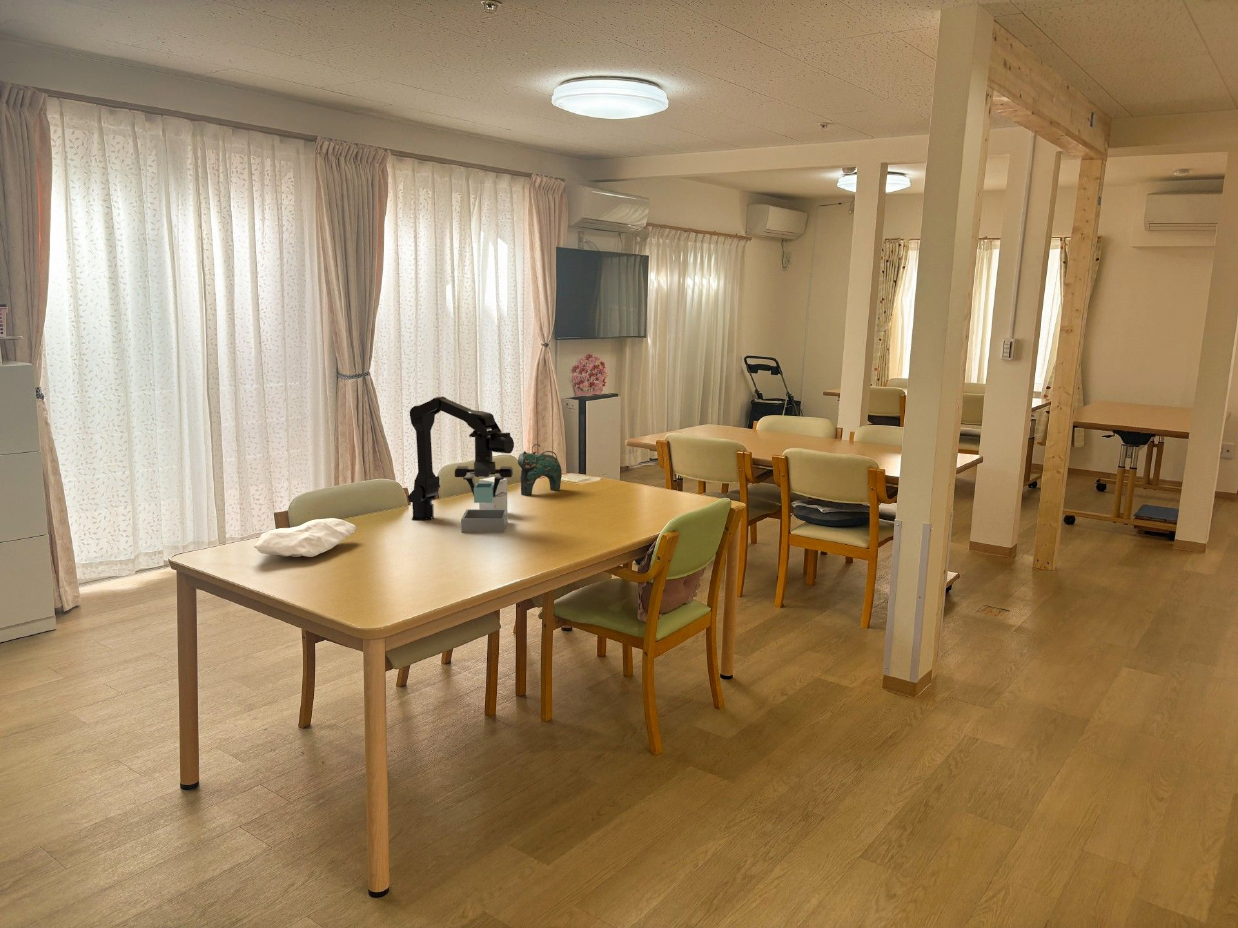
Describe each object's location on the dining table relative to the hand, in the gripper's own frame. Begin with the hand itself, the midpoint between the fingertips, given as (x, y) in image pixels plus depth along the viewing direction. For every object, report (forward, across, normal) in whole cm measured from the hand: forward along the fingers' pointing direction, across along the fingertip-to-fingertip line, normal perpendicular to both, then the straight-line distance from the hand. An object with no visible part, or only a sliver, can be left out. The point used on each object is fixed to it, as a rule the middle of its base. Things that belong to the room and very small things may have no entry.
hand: (484, 497), depth 294 cm
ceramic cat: (+11, +16, +56) cm, 59 cm away
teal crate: (+1, 0, 0) cm, 1 cm away
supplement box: (+11, +1, +20) cm, 23 cm away
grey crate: (+10, 0, 0) cm, 10 cm away
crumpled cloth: (+11, -51, -30) cm, 60 cm away
